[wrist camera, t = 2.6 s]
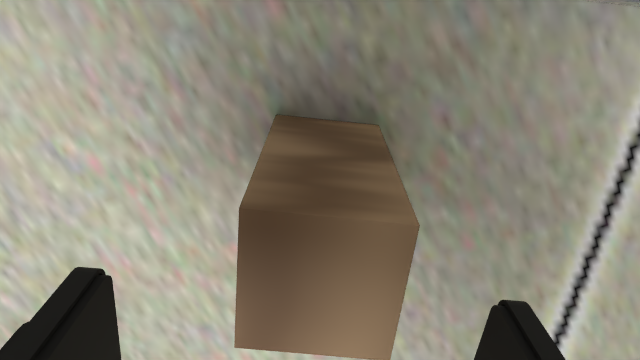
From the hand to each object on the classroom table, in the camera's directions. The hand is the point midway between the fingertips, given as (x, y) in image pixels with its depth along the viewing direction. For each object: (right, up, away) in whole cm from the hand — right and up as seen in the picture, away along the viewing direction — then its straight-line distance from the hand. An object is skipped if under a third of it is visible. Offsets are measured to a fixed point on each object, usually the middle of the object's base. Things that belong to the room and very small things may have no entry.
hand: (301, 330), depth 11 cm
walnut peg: (+1, +4, +11) cm, 12 cm away
